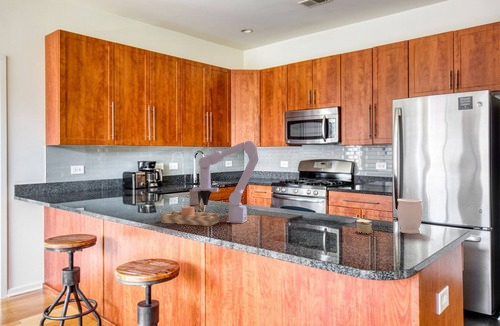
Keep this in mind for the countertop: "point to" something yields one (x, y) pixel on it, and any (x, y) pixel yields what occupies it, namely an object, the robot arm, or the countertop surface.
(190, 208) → the terracotta block
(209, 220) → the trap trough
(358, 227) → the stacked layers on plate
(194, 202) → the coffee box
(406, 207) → the jar
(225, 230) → the countertop surface
